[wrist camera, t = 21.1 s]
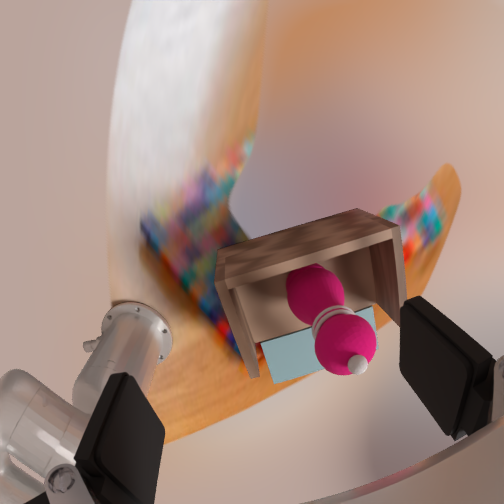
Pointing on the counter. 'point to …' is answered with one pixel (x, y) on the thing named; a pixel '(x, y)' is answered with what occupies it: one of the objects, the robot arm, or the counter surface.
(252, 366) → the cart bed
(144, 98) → the counter surface
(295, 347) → the panel
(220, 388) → the counter surface
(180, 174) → the counter surface
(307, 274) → the pepper mill
